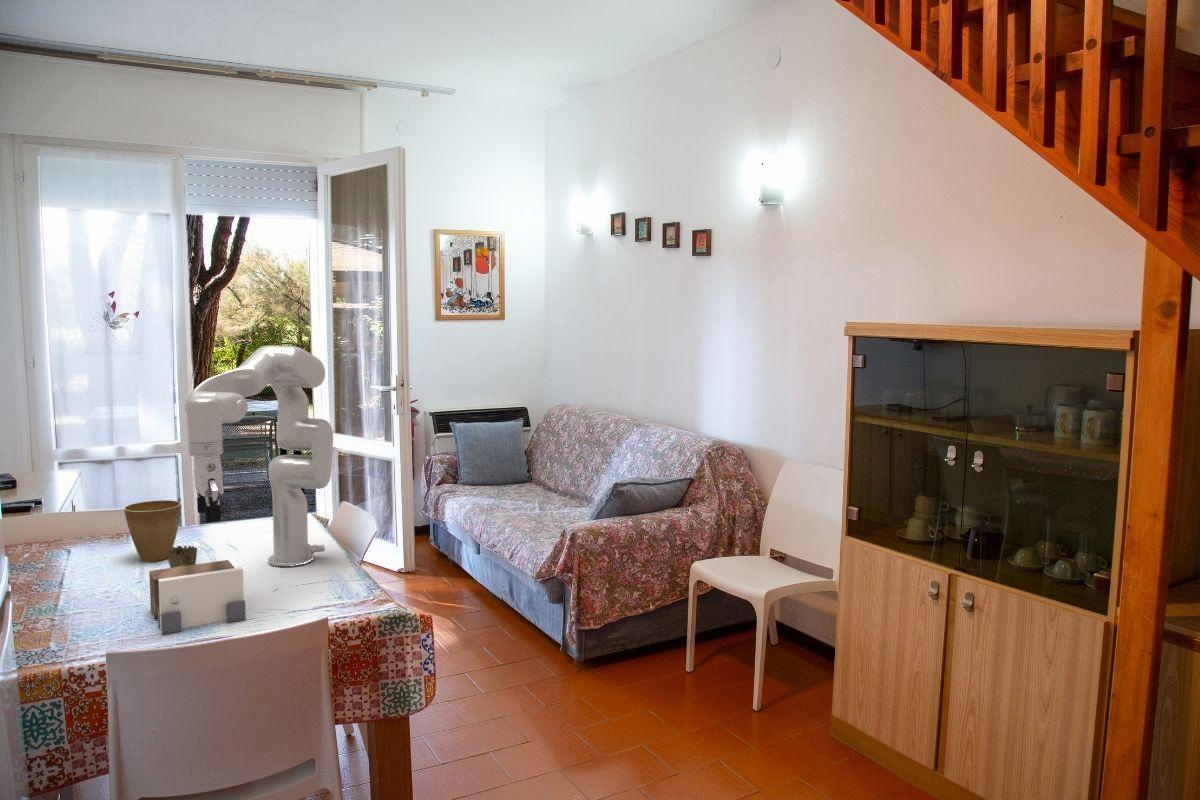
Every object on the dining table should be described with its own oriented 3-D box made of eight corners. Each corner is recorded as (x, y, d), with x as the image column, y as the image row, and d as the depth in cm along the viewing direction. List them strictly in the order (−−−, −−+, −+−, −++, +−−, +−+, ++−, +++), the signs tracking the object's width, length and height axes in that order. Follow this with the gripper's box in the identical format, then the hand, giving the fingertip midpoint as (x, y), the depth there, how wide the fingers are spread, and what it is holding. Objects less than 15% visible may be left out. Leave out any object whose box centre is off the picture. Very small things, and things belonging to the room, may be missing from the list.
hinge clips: (239, 612, 211) (239, 594, 211) (245, 619, 206) (245, 601, 206) (158, 626, 201) (157, 607, 200) (162, 634, 196) (161, 615, 196)
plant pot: (191, 551, 261) (190, 499, 259) (168, 566, 246) (166, 511, 245) (141, 550, 261) (139, 499, 259) (115, 565, 246) (113, 510, 244)
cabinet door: (242, 615, 210) (241, 567, 208) (244, 618, 207) (243, 570, 206) (160, 629, 200) (158, 579, 198) (162, 633, 197) (160, 582, 196)
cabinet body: (228, 597, 221) (227, 559, 220) (235, 606, 215) (234, 568, 214) (150, 610, 211) (149, 570, 210) (155, 620, 205) (154, 579, 204)
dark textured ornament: (185, 582, 233) (185, 553, 232) (161, 580, 234) (161, 551, 233) (203, 574, 240) (203, 546, 239) (180, 571, 241) (179, 544, 240)
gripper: (230, 452, 202) (233, 523, 205) (214, 440, 216) (217, 506, 219) (195, 455, 198) (199, 527, 200) (182, 443, 212) (185, 511, 214)
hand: (209, 516), depth 210 cm, fingers open, 9 cm apart
